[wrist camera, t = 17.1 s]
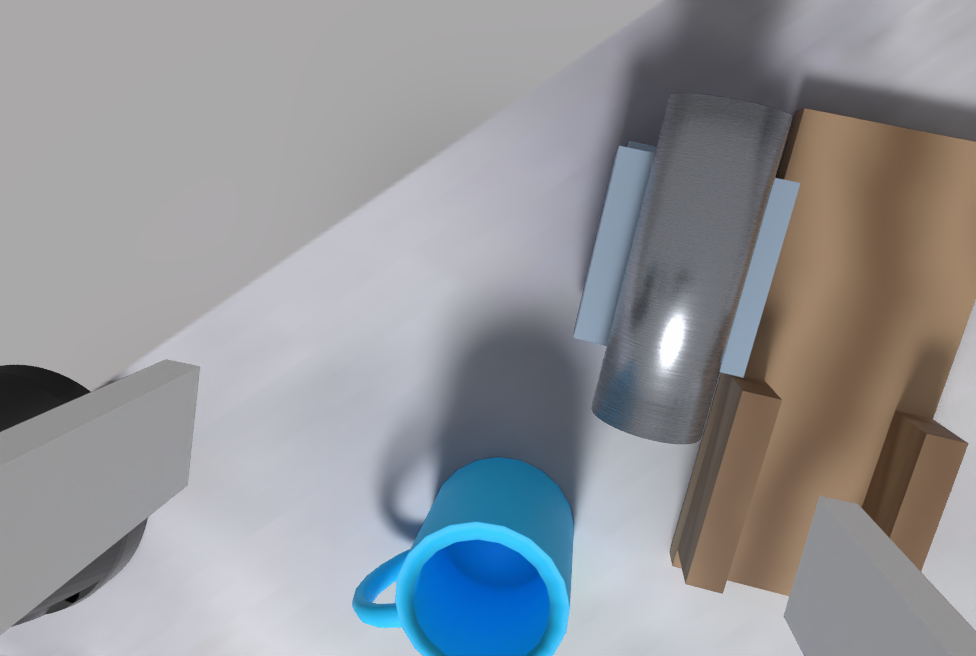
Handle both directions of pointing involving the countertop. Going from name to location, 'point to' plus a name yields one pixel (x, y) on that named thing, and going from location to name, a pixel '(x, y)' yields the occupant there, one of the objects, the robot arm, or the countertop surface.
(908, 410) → the wooden channel tray
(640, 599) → the countertop surface
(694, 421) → the axle
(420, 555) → the mug
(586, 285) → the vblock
